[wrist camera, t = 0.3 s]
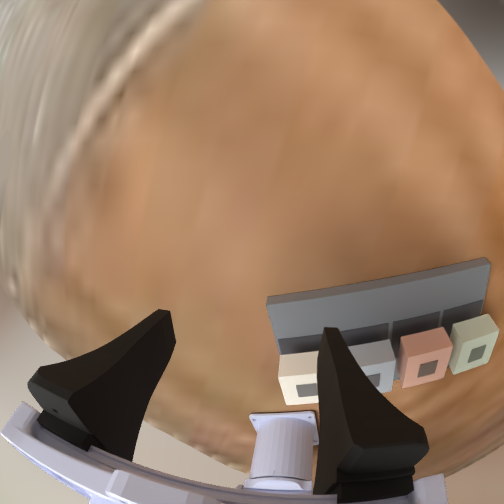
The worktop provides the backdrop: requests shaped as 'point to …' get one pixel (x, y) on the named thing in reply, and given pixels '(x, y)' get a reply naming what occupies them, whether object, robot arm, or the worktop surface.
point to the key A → (299, 377)
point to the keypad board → (380, 308)
